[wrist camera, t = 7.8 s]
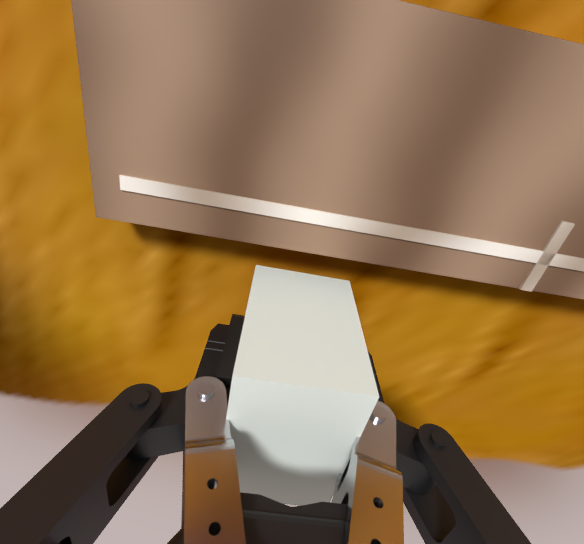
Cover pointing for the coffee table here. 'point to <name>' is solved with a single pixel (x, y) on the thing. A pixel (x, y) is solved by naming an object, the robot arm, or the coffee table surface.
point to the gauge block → (298, 386)
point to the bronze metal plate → (341, 132)
